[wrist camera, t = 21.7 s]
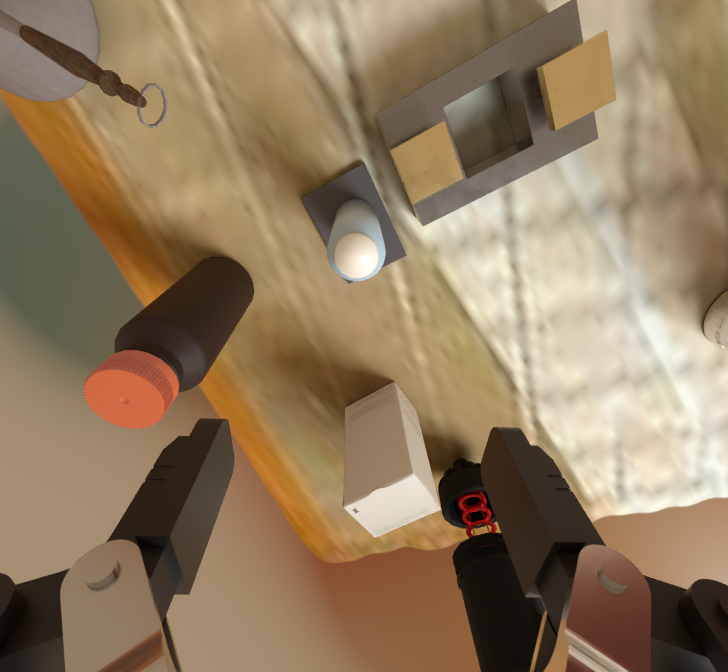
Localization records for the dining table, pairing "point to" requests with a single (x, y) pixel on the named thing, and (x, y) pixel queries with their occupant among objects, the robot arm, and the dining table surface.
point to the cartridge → (356, 241)
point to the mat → (343, 189)
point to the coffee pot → (57, 53)
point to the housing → (523, 104)
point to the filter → (489, 577)
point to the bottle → (170, 344)
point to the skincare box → (386, 463)
